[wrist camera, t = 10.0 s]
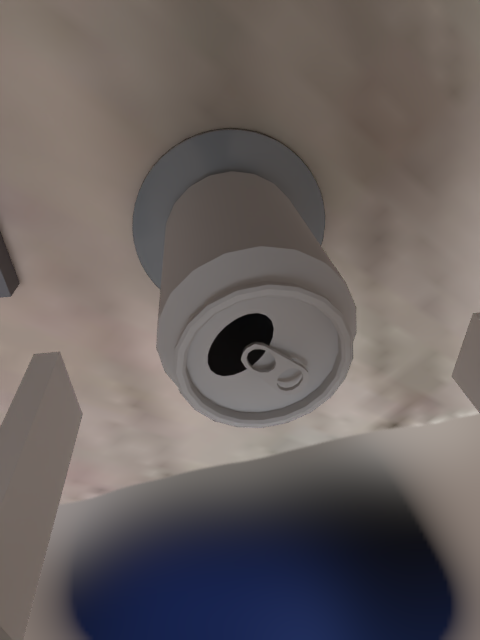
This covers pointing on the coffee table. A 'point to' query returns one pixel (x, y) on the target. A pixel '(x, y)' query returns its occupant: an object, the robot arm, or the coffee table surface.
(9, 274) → the remote
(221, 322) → the can
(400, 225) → the coffee table surface
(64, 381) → the robot arm
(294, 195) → the coaster
